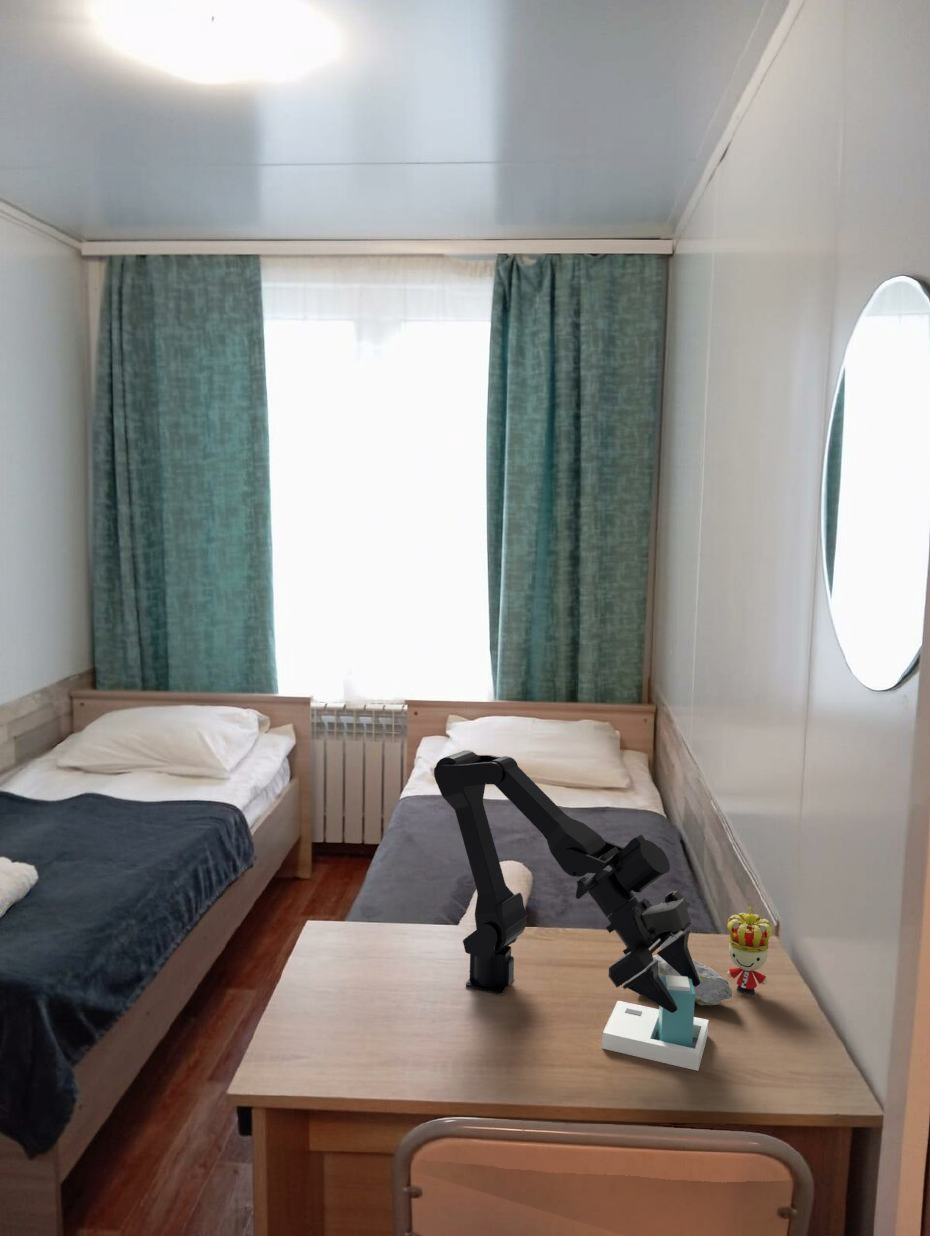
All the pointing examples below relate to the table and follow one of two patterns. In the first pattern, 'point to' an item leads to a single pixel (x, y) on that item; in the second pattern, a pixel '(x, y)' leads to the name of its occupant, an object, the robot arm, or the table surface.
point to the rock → (701, 982)
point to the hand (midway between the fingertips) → (687, 997)
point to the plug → (678, 1012)
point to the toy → (748, 949)
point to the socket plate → (651, 1037)
